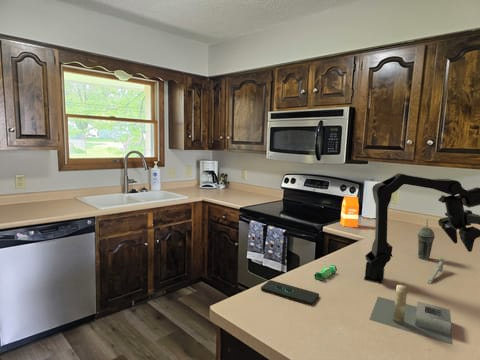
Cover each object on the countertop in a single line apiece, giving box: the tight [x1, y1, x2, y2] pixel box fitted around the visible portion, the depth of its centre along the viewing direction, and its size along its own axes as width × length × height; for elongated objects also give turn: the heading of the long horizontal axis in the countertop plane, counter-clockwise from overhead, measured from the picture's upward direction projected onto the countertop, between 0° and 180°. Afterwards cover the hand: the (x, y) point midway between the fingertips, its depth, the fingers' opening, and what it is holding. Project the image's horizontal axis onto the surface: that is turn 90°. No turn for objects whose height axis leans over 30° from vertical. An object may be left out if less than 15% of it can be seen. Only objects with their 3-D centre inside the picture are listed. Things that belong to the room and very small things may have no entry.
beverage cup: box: [417, 218, 436, 261], centre depth 155 cm, size 7×7×20 cm
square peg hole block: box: [415, 300, 452, 336], centre depth 99 cm, size 9×9×4 cm
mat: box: [369, 296, 453, 345], centre depth 102 cm, size 22×18×1 cm
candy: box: [313, 264, 338, 281], centre depth 132 cm, size 12×3×4 cm
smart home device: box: [260, 279, 320, 306], centre depth 117 cm, size 8×2×20 cm
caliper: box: [427, 257, 445, 284], centre depth 135 cm, size 20×1×6 cm, turn 136°
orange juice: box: [340, 196, 360, 228], centre depth 212 cm, size 8×9×20 cm
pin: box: [393, 284, 408, 324], centre depth 99 cm, size 3×3×12 cm
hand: (462, 247), depth 126 cm, fingers open, 9 cm apart
